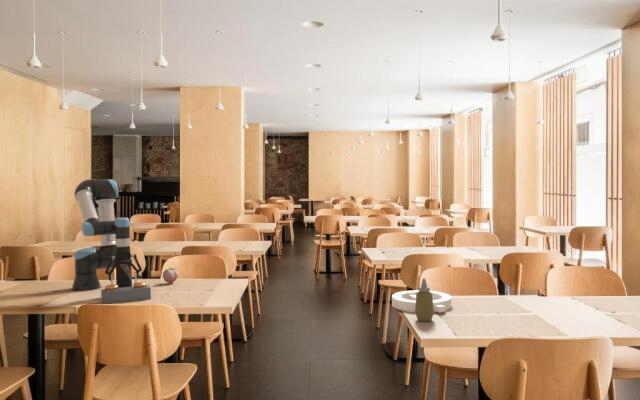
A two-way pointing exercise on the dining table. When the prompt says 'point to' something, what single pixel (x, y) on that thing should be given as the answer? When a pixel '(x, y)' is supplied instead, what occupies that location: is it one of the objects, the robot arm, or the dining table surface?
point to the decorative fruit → (170, 275)
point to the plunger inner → (111, 287)
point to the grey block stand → (125, 294)
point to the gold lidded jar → (139, 285)
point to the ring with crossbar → (408, 301)
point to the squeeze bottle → (424, 303)
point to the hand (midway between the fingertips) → (124, 285)
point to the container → (123, 273)
